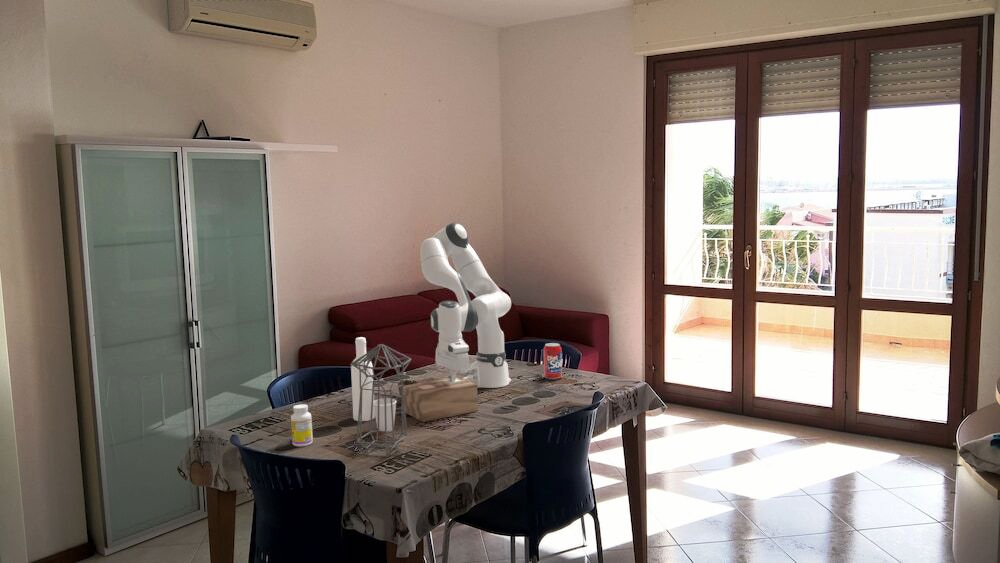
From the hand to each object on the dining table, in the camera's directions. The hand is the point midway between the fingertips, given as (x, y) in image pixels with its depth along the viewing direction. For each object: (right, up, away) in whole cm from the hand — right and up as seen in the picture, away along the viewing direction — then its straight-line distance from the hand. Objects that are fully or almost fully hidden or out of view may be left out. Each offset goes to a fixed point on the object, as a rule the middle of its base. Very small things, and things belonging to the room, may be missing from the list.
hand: (451, 380), depth 292 cm
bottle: (-32, -13, -8) cm, 35 cm away
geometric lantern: (-19, -17, -46) cm, 52 cm away
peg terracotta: (-9, -11, -5) cm, 15 cm away
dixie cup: (-22, -15, -22) cm, 34 cm away
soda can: (+41, -5, +46) cm, 62 cm away
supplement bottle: (-47, -17, -36) cm, 62 cm away
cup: (-18, -10, +13) cm, 25 cm away
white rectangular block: (0, -9, +1) cm, 9 cm away
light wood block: (-4, -11, -2) cm, 12 cm away
